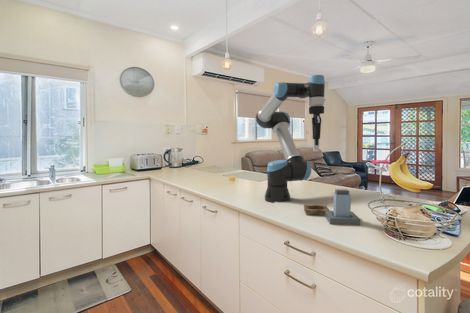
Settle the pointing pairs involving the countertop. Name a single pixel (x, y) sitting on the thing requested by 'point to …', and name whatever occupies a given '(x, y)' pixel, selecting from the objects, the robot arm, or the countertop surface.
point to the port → (342, 219)
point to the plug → (342, 203)
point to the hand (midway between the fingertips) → (316, 151)
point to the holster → (315, 210)
